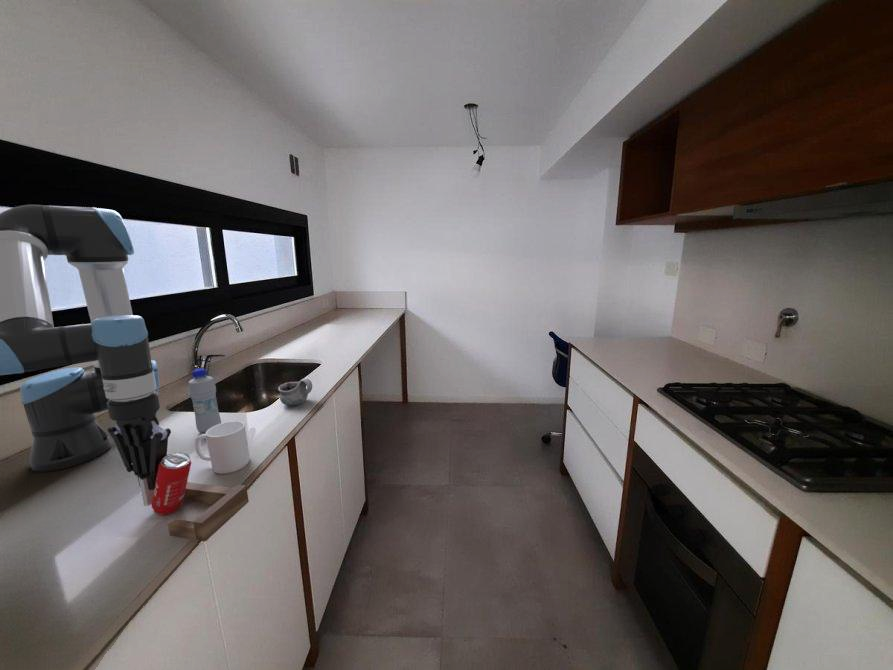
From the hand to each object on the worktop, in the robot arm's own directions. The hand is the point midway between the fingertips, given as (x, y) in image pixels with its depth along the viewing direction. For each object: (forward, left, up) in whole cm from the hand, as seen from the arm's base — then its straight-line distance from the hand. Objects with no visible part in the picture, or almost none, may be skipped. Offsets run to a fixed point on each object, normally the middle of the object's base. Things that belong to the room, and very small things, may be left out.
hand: (152, 501), depth 74 cm
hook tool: (+8, 0, -2) cm, 8 cm away
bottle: (-18, +32, -2) cm, 36 cm away
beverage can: (+3, 0, -1) cm, 3 cm away
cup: (+1, +17, -2) cm, 17 cm away
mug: (-3, +55, -2) cm, 55 cm away
